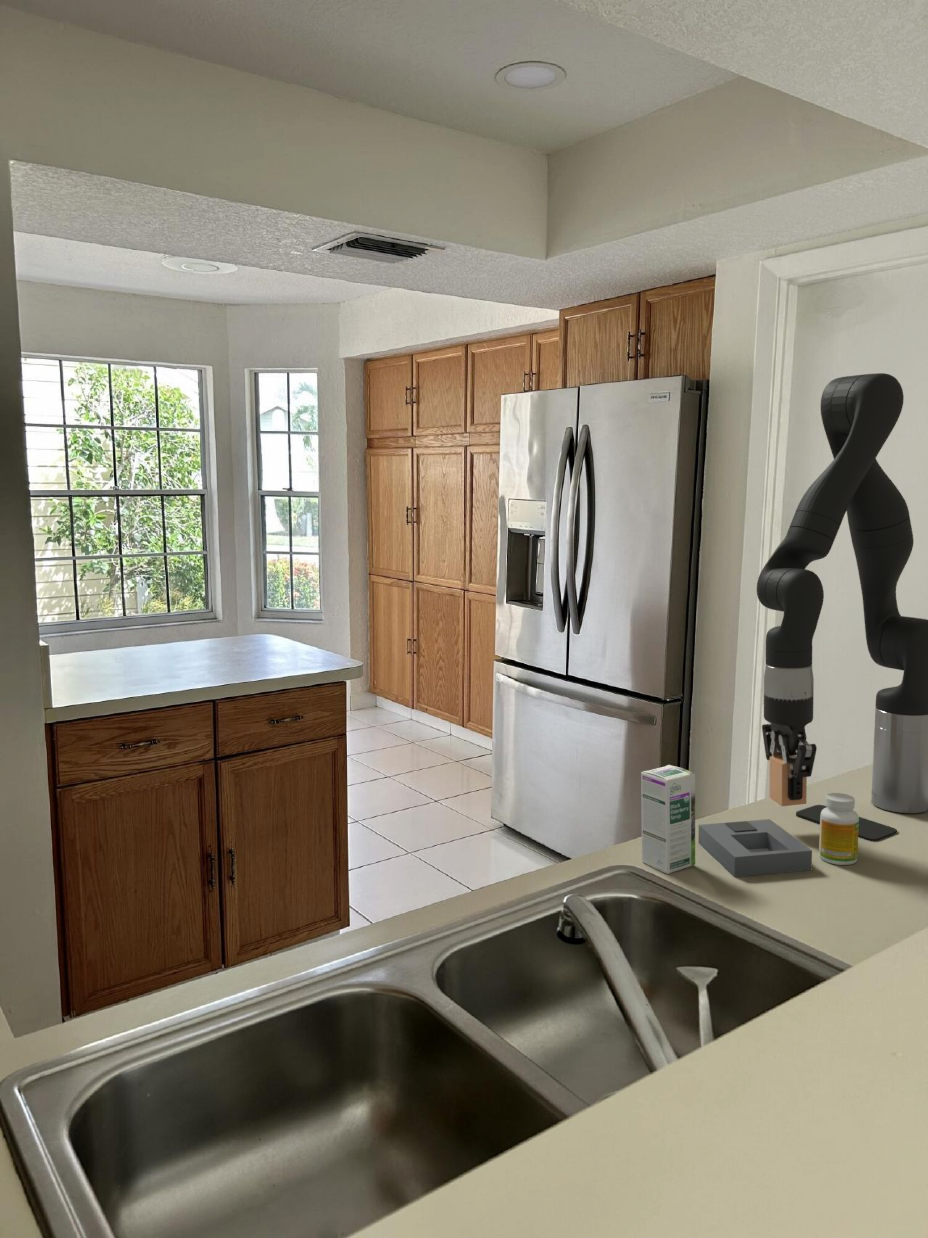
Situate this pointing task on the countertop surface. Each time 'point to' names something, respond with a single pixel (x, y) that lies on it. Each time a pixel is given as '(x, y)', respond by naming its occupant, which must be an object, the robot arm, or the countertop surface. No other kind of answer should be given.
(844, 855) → the supplement bottle
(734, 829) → the plate
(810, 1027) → the countertop surface
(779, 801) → the block
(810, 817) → the phone
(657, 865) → the syrup box
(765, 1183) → the countertop surface
